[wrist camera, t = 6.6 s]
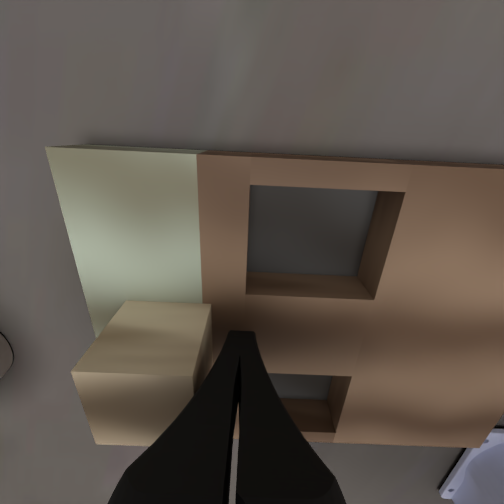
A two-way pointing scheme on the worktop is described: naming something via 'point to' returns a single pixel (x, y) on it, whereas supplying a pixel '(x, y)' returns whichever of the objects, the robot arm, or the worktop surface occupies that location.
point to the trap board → (312, 275)
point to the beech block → (144, 370)
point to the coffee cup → (5, 356)
